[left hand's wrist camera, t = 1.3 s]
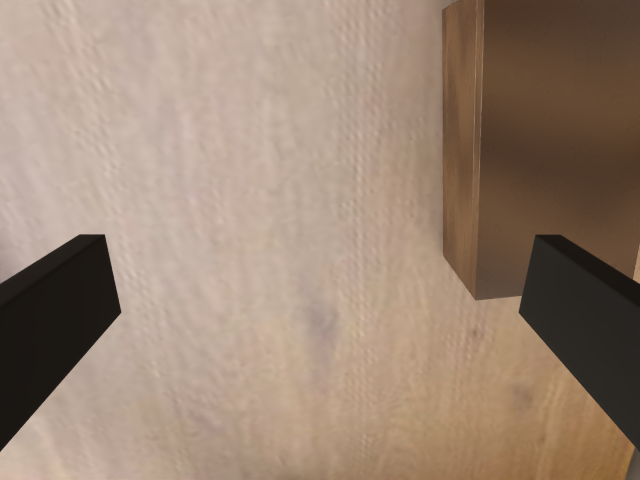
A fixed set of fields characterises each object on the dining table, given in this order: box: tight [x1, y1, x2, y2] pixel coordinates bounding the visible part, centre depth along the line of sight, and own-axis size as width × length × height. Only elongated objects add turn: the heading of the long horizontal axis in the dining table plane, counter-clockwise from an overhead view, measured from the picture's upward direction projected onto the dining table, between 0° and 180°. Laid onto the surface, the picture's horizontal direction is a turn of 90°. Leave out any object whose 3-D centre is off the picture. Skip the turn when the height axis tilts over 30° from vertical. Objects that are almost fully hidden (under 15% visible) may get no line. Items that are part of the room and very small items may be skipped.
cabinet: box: [443, 0, 640, 300], centre depth 29 cm, size 20×11×8 cm, turn 7°
